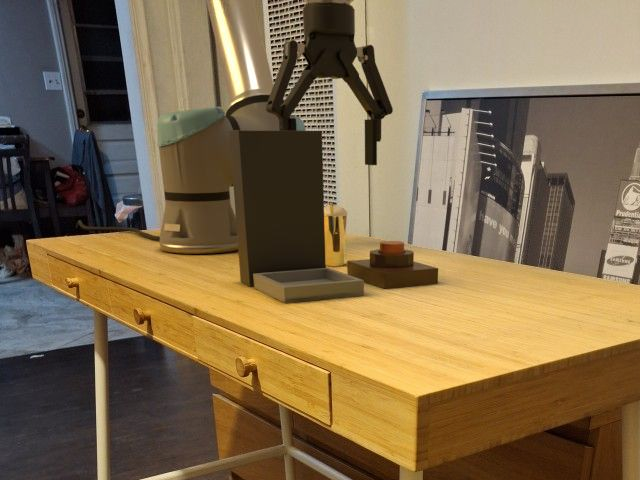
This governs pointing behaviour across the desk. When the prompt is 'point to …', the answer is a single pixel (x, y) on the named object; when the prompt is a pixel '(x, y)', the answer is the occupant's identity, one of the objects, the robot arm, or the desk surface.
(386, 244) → the brew button
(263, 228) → the coffee maker
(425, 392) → the desk surface
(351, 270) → the panel
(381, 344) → the desk surface
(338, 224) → the milkshake
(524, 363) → the desk surface
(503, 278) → the desk surface
